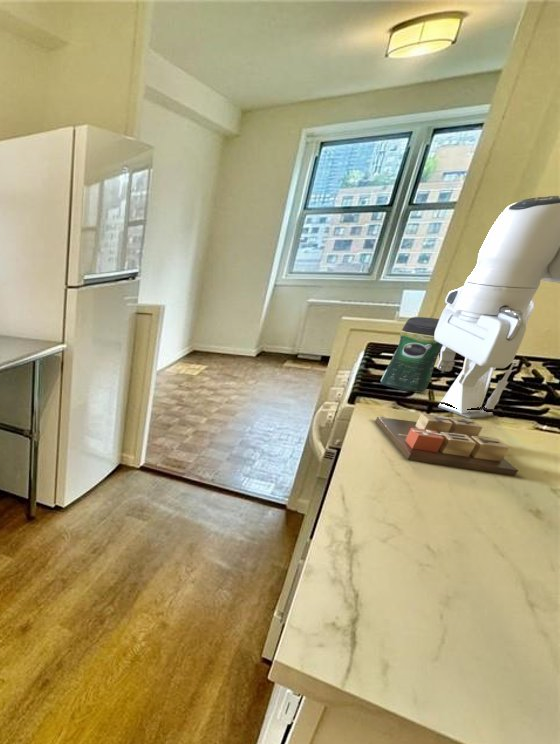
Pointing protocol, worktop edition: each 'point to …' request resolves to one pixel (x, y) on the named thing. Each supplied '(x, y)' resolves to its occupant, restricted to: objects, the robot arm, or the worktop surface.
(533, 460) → the worktop surface
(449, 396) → the skyscraper
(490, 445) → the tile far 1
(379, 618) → the worktop surface
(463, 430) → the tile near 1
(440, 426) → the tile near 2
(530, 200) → the robot arm
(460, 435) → the tile
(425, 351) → the coffee jar
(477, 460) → the board
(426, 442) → the red toy block
